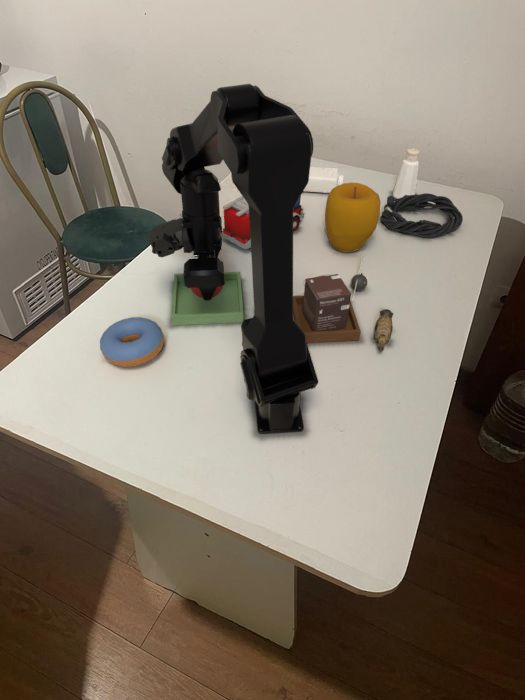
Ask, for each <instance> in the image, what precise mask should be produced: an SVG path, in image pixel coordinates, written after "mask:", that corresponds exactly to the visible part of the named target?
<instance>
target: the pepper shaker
mask: <svg viewBox="0 0 525 700" xmlns="http://www.w3.org/2000/svg"><path fill="white" fill-rule="evenodd" d="M419 155H420V150H419V149H417V148H413V147H412V148H407V150H406V155H405V158H404V159H402V162H401V165H400V169H399V172H398V174H397V175H398V176H397V178H396V180H395V185H394V188H393V191H392V196H393V197H394V198H401V197H404V196H405V195H416V189H417V180H418V173H419V163H420V162H419V160H418V159H419Z"/></svg>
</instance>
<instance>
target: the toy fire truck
mask: <svg viewBox="0 0 525 700" xmlns="http://www.w3.org/2000/svg"><path fill="white" fill-rule="evenodd" d="M303 193H304V191H303V192H302V194H303ZM301 199H302V195H301V196H300V197H299V199H298V201H297V203H296V204H295V206H294V209H293V233H295V232H296V231H297V230H298V229H299V227H300V224H301V223H300V222H301V221H302V219H304V218H305V212H304V208H303V207H302V205H301ZM222 209H223V226H224V227H223V228H222V234H221V236H222V239H224V240H227V241H229V242H231V243H233V244H234V245H236V246H238V247H240V248H242V249H244V250H245V251H246V250H248V249H251V238H250V220H249V206H248V203H247V201H246V200H245V199H244V197H243V196H242V195H241V196H240V197H238V198H236V199H233V200H232V201H230V202H228V203H227V204H225V205H223V206H222Z"/></svg>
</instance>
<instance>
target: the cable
mask: <svg viewBox="0 0 525 700" xmlns="http://www.w3.org/2000/svg"><path fill="white" fill-rule="evenodd" d="M421 210H423V211H431V210H432V211H433V210H438V211H440V212H442V213H444V214H445V215H447V216H448V217H447V218H449V219H448V220H447V221H446V222H444V223H443V224H441V223H438V222H435V221H431V220H426V219H419V220H417V221H413V220H407V219H406V218H405V217H403V216H402V215H401V214H400V213H398V212H399V211H400V212H415V211H421ZM394 219H395V220H394ZM463 219H464V218H463V214H462V212H461V211H460V210H459V209H458V207H457V206H456V205H454V202H453V201H452V199H450V198H449V197H447V196H443V195H435V194H434V193H426V192H425V193H419V194H415V195H405V196H404V197H401V198H395V197H393V195H388V196H387V198H386V204H385V205H384V206H383V211H382V212H381V216H379V220H380V221H381V222H383V224H384V225H385V226H386V227H387V228H388V230H395V231H398V232H400V233H405V234H406V233H407V234H408V233H410V234H413V235H416V236H419V237H422V238H431V237H436V236H437V237H439V236H442V235H445V234H448V233H450V232H452V231H454V230H457V229H459V228H460V226H461V225H462V224H463V221H464V220H463Z"/></svg>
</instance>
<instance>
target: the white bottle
mask: <svg viewBox="0 0 525 700" xmlns="http://www.w3.org/2000/svg"><path fill="white" fill-rule="evenodd" d="M344 183H345V176H344V175H343V174H340V171H339V169H338V167H318V166H310V173H309V181H308V184H307V186H306V187H305V189H304V191H303V192H306V193H307V192H308V193H324V194H329V193H330V192H331V190H332V189H333V188H334V187H337V186H339V185H342V184H344Z"/></svg>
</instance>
